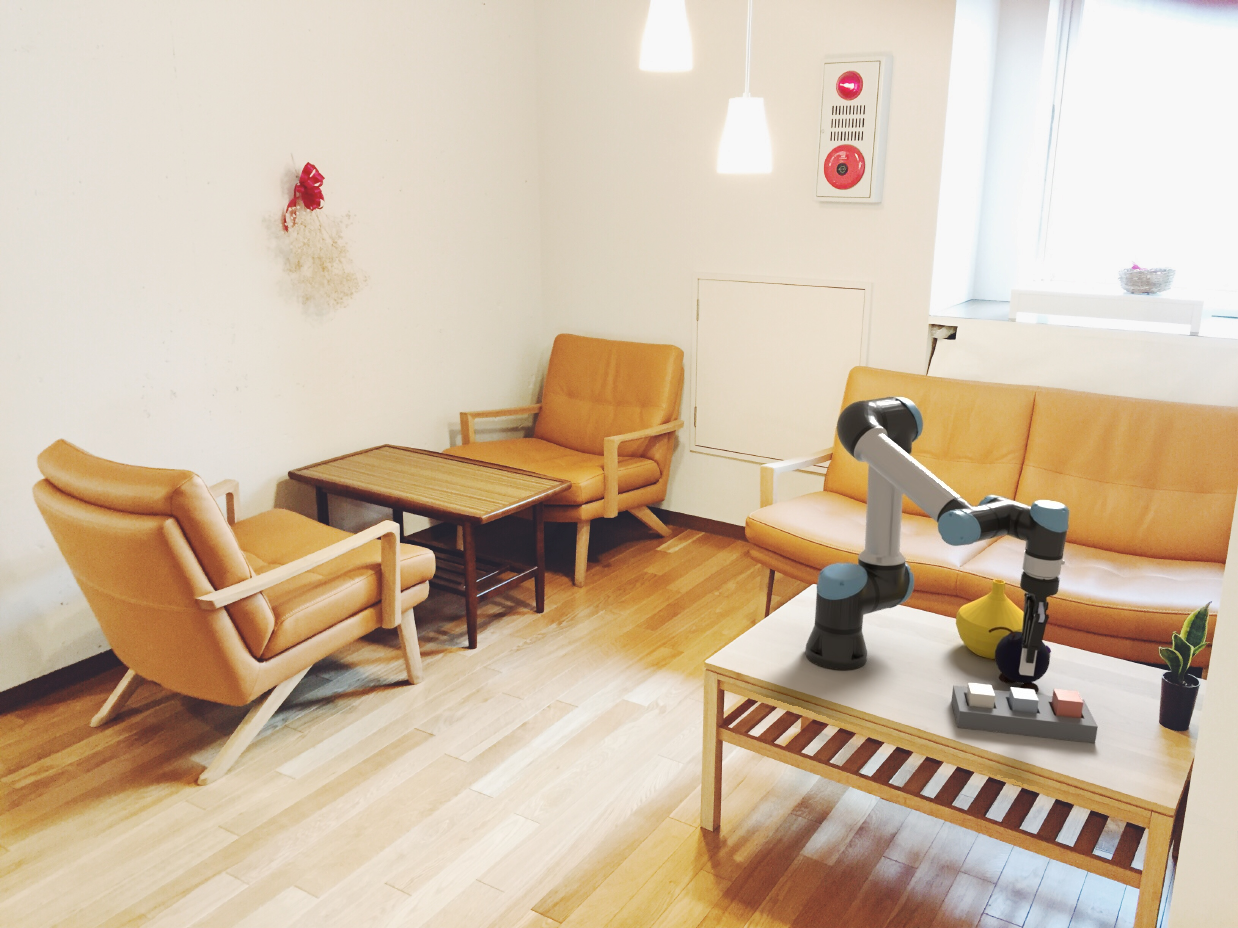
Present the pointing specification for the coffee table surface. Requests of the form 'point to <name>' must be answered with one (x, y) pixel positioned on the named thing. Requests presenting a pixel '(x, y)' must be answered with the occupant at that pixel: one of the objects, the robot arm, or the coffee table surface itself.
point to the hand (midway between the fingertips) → (1026, 673)
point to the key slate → (1023, 700)
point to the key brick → (1067, 703)
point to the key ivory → (980, 695)
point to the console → (1023, 718)
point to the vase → (988, 620)
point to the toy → (1018, 660)
